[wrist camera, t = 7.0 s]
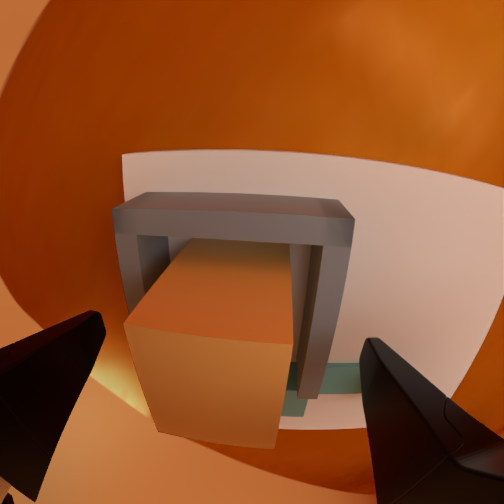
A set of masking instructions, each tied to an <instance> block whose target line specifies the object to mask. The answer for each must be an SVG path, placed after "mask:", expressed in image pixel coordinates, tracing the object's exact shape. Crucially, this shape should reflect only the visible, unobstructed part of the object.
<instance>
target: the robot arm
mask: <svg viewBox="0 0 504 504" xmlns="http://www.w3.org/2000/svg"><path fill="white" fill-rule="evenodd" d="M105 336H106V329H105V326H104V322H103V319H102V316H101V314H100V313H99V312H97V311H92V310H89V311H87V312H85V313H82V314H80V315H77V316H75V317H73V318H70V319H68V320H66V321H63V322H61V323H59V324H56V325H54V326H52V327H49V328H47V329H45V330H42V331H40V332H38V333H35V334H33V335H31V336H29V337H27V338H24V339H22V340H20V341H17V342H15V343H12V344H10V345H8V346H5V347H3V348H1V349H0V504H14V502H13V498H12V495H10V494H9V493H8V490H9V489H10V487H11V485H12V486H13V487H14V488H15V489H17V490H18V491H20V492H21V493H22V494H24V495H25V496H26V497H28V498H29V499H31V500H32V501H34V502H35V501H36V499H37V497H38V494H39V491H40V488H41V485H42V482H43V480H44V477H45V474H46V471H47V469H48V466H49V464H50V461H51V458H52V456H53V453H54V451H55V448H56V446H57V443H58V441H59V439H60V436H61V434H62V432H63V430H64V427H65V425H66V423H67V421H68V418H69V416H70V414H71V412H72V410H73V408H74V405H75V403H76V401H77V399H78V397H79V395H80V393H81V391H82V389H83V387H84V385H85V383H86V381H87V379H88V377H89V375H90V373H91V371H92V369H93V366H94V364H95V361H96V359H97V356H98V354H99V351H100V349H101V346H102V344H103V341H104V339H105ZM359 368H360V380H361V393H362V404H363V410H364V415H365V421H366V427H367V432H368V438H369V445H370V451H371V458H372V465H373V472H374V480H375V488H376V497H377V504H504V439H503V438H501V437H500V436H498V435H497V434H496V433H494V432H493V431H491V430H490V429H488V428H487V427H486V426H485V425H484V424H481V423H480V422H479V421H477V420H476V419H475V418H473V417H472V416H471V415H469V414H468V413H467V412H465V411H464V410H463V409H462V408H460V407H459V406H458V405H457V404H456V403H454V402H453V401H452V400H451V399H450V398H449V397H446V395H445V394H444V393H443V392H442V391H441V390H439V389H438V388H437V387H436V386H435V385H434V384H433V383H431V382H430V381H429V380H428V379H427V378H426V377H424V376H423V375H422V374H421V373H420V372H419V371H417V370H416V369H415V368H414V367H413V366H412V365H410V364H409V363H408V362H407V361H406V360H405V359H403V358H402V357H401V356H400V355H399V354H398V353H396V352H395V351H394V350H393V349H392V348H390V347H389V346H388V345H387V344H386V343H385V342H383V341H382V340H381V339H380V338H378V337H368V338H366V339H365V341H364V345H363V348H362V351H361V354H360V357H359Z"/></svg>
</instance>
